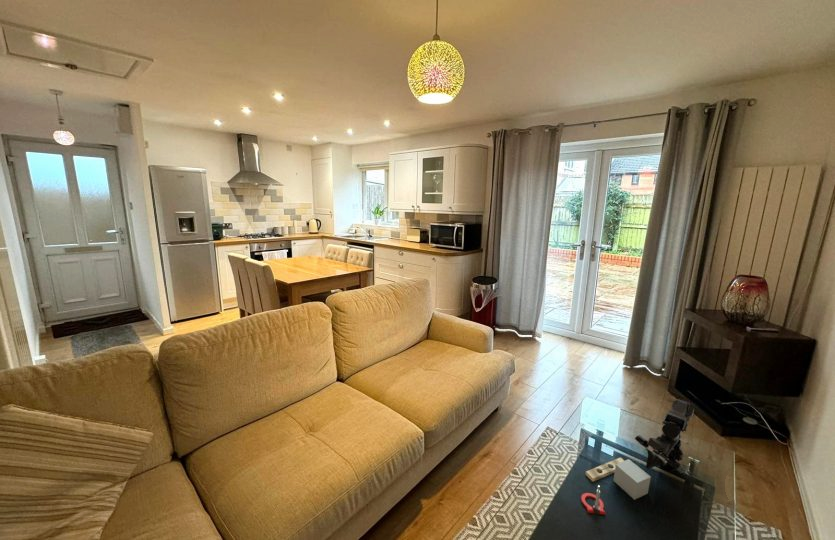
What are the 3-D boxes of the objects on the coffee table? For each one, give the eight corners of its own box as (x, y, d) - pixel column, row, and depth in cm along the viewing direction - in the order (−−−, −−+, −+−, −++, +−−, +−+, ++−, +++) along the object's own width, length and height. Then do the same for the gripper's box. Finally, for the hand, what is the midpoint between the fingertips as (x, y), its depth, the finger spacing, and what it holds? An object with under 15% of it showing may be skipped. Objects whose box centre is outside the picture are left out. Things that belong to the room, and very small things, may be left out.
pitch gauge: (620, 460, 158) (620, 457, 157) (627, 466, 154) (628, 463, 154) (585, 474, 151) (586, 471, 150) (592, 481, 147) (593, 478, 146)
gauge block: (626, 475, 150) (628, 459, 148) (647, 493, 141) (650, 476, 138) (613, 480, 147) (615, 464, 145) (634, 499, 138) (637, 482, 136)
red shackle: (578, 493, 142) (585, 513, 133) (580, 468, 139) (588, 486, 130) (598, 496, 141) (607, 516, 132) (601, 470, 138) (611, 489, 129)
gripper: (640, 419, 151) (620, 446, 150) (684, 448, 134) (661, 478, 133) (649, 429, 156) (630, 455, 155) (693, 458, 139) (671, 487, 138)
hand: (646, 468), depth 145 cm, fingers closed
